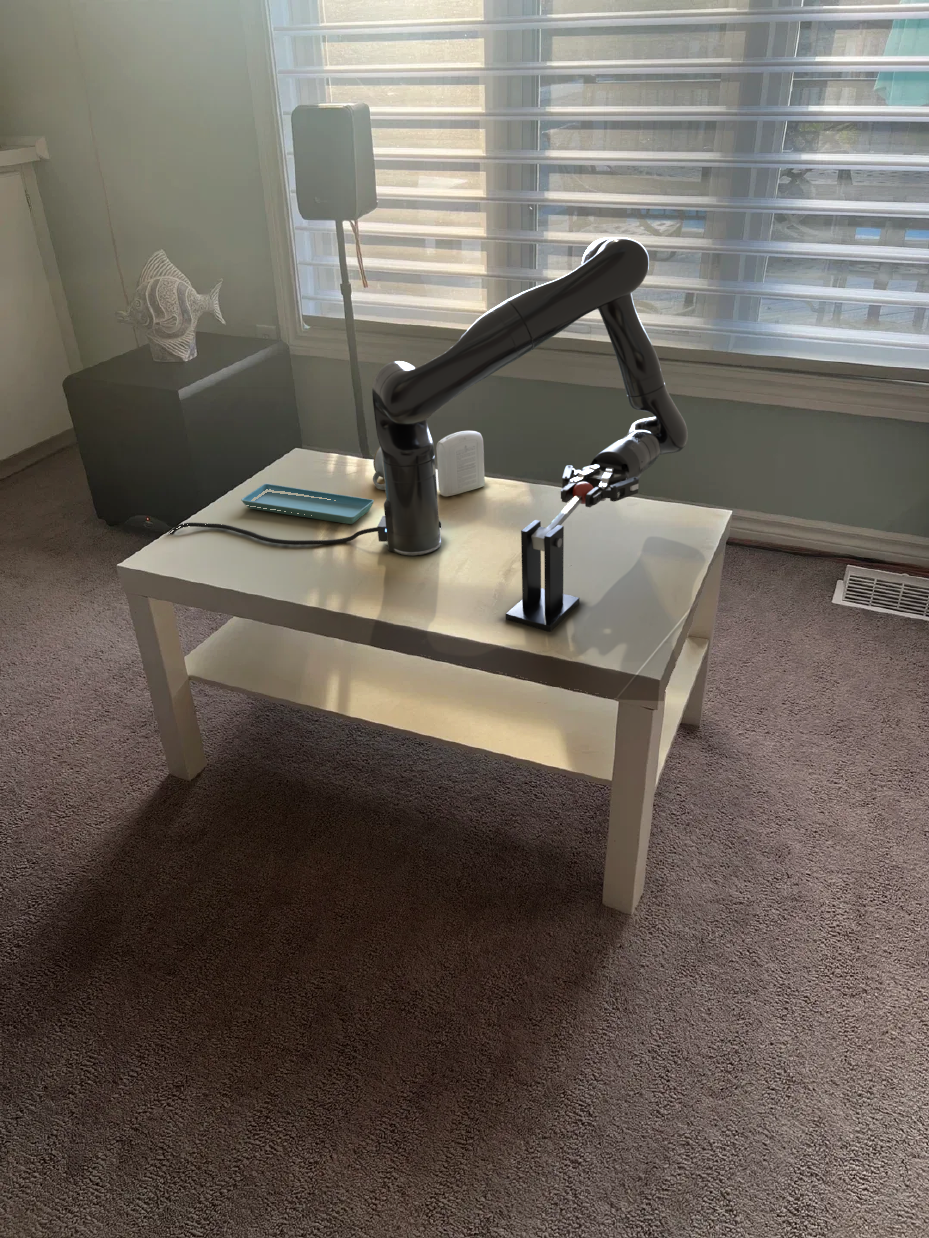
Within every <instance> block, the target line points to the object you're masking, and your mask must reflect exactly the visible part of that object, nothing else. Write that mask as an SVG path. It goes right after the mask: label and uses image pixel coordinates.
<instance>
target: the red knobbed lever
mask: <svg viewBox="0 0 929 1238" xmlns="http://www.w3.org/2000/svg"><path fill="white" fill-rule="evenodd" d="M592 489H594V488H593V486H592V485H591V484H590V483H588V482H580V483H577V484H576V485H575V487H574V488H573V492H572V495H573V498H572V499H571V500H570V501H568V502H567V504H566V505H565V506H564V507H563V509H562V510H561V511H560V512H559V513H558V514H557V515H556V516H555V517H554V519H553V520H552V521H551V522H550V523H549V524H548V525H547V526H546V527H544V526H541V527H539V528H538V529H537V530H536V531H535V533H534V534H533V535H532V536H531V537H532V546H533V549H536V550H541V552H544V536H545V535H546V534H547V533H549V532H550V531H551V530H552V529H554V528H555V527H556V526H557V525H561V526H563V523H564V522H565V521H566V520H567V519H568V518H569V517H570V516H571V514H572V513H573V512H574V511H575V510H576V509H577V508H578V507H579V506H580V505H585V497H586V494H587V493H589V492H590V491H591V490H592Z"/></svg>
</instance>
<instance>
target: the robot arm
mask: <svg viewBox="0 0 929 1238" xmlns="http://www.w3.org/2000/svg"><path fill="white" fill-rule="evenodd" d="M581 260H582V261H581V265H579V266H578V267H577V268H575V269H574V270H573V271H571V272H569V273H568V274H565V275H563V276H561V277H559V278H556V279H554V280H552V281H549V282H546V283H544V284H541V285H537V286H534V287H532V288H530V289H527V290H525V291H522V292H520V293H518V294H516V295H513V296H512V297H510V298H507V299H506V300H504V301H503V302H501V303H500V304H497V305H496V306H495V307H493V308H491V309H490V310H488V311H487V312H485V313H484V314H482V315H480V317H479V318H477V319H476V320H474V322H473V323H472V324H471V325H470V326H469V327H468V328H467V330H466V331H465V332H464V333H463V334H462V335H461V337H459V339H458V340H457V341H456V342H455V344H453V345H452V346H451V347H450V348H448V349H447V350H446V351H445V352H444V353H442V354H440V355H438V356H436V357H435V358H433V359H430V360H429V361H427V362H425V363H424V364H421V365H419V366H417V367H415V365H413V364H411V363H409V362H406V361H402V360H401V361H400V360H396V361H391V362H388V363H386V364H385V365H383V366H382V367H380V369H379V370H378V371H377V373H376V374H375V376H374V379H373V382H372V387H371V388H372V389H371V390H372V391H371V394H372V406H373V413H374V421H375V430H376V436H377V440H378V444H379V447H381V452H382V460H383V470H384V478H383V479H384V484H385V490H384V491H385V499H384V502H383V510H384V515H382V517H381V519H380V520H379V522H378V524H377V526H376V527H369V528H364V529H361V530H359V531H356V532H355V533H353V534H352V535H350V536H347V537H342V538H335V539H312V540H311V539H309V540H308V539H305V540H304V539H303V540H301V539H299V540H297V539H296V540H295V539H280V538H274V537H268V536H264V535H261V534H258V533H255V532H253V531H250V530H247V529H244V528H240V527H236V526H233V525H229V524H223V523H211V522H210V523H208V522H184V525H183V523H180V524H178V525H176V526H174V527H173V528H171V530H169V532H168V534H169V533H170V532H171V531H172V530H174V531H173V532H172V533H170V534H169V535H174V534H175V533H176V532H177V531H179V530H181V529H184V528H189V527H188V526H190V528H192V527H193V528H194V527H195V528H209V529H212V528H213V529H223V530H228V531H232V532H235V533H238V534H242V535H245V536H249V537H252V538H255V539H257V540H260V541H263V542H267V543H273V544H279V545H297V546H305V545H306V546H307V545H308V546H309V545H312V546H313V545H315V546H316V545H317V546H319V545H336V544H343V543H347V542H351V541H353V540H355V539H357V538H358V537H360V536H362V535H366V534H371V533H377V537H378V538H377V539H378V542H380V543H381V542H382V543H383V542H387V548H388V549H387V550H388V552H394V553H396V554H398V555H402V556H410V557H411V556H412V557H413V556H423V555H426V554H430V553H433V552H435V551H436V550H438V549H439V548H440V547H441V545H442V538H441V530H442V522H441V520H440V513H439V511H440V510H439V499H438V484H437V483H438V482H437V470H436V458H435V457H436V455H435V444H434V439H433V436H432V434H431V431H430V428H429V424H428V418H430V417H431V416H433V415H434V414H435V413H437V412H438V411H439V410H440V409H442V408H443V407H445V406H446V405H447V404H448V403H449V402H451V401H453V399H455V398H456V397H457V396H459V395H460V394H462V393H463V392H464V391H466V390H467V389H469V388H470V387H472V386H474V385H476V384H477V383H479V382H481V381H483V380H485V379H486V378H488V377H489V376H491V375H493V374H494V373H497V371H499V370H501V369H502V368H505V367H506V366H508V365H510V364H512V363H513V362H515V361H517V360H519V359H520V358H522V357H523V356H525V355H527V354H528V353H530V352H532V351H534V350H535V349H536V348H538V347H539V346H540V345H542V344H544V343H545V342H547V341H548V340H550V339H552V338H553V337H554V336H556V335H558V334H560V333H561V332H562V331H564V330H566V329H567V328H568V327H570V326H571V325H573V324H574V323H575V322H577V321H578V320H579V319H581V318H583V317H584V316H586V315H588V314H590V313H592V312H594V311H595V310H598V312H599V315H600V317H601V319H602V322H603V324H604V328H605V329H606V333H607V334H608V337H609V340H610V343H611V345H612V349H613V351H614V354H615V358H616V361H617V364H618V369H619V372H620V375H621V379H622V383H623V387H624V390H625V393H626V396H627V397H626V398H627V400H628V403H629V406H630V407H631V408H632V409H633V410H635V411H636V410H637V411H641V412H642V411H643V412H648V413H650V414H652V415H653V416H652V417H644V418H641V419H638V420H636V421H634V422H633V423H631V425H630V427H629V429H628V430H627V431H628V432H627V433H626V435H624V436H623V437H622V438H621V439H618V440H616V441H613V443H611V444H610V445H609V446H607V447H606V448H604V449H603V450H602V451H600V452H599V453H598V454H596V455H595V456H594V458H593V459H592V461H591V462H590V464H589V465H587V466H583V467H582V468H581V469H576V468H574V466H573V465H566V466H565V468H564V471H563V474H562V477H561V484H562V486H561V489H560V499H561V502H562V503H567V504H568V503H569V502H570V501H571V500H572V499H573V495H572V492H573V488H574V487H575V485H576V484H578V483H580V482H588V483H590V484H591V485H592V486H593V488H594V489H592V490H591V491H590V492H589V493H587V494H586V497H585V504H584V506H585V508H592V507H593V506H596V505H598V504H599V503H600V502H604V501H606V500H607V499H609V501H610V502H614V503H615V502H618V501H620V500H623V499H626V498H629V497H631V496H634V495H637V494H638V493H639V488H640V478H641V476H643V474H644V473H645V472H646V470H648V469H649V468H650V467H652V465H654V464H655V463H656V461H657V460H658V459H659V456H660V455H667V454H668V455H669V454H675V453H678V452H681V451H682V450H683V449H684V448H685V446H686V445H687V442H688V438H689V437H688V436H689V433H688V427H687V424H686V421H685V419H684V417H683V416H682V414H681V412H680V411H679V409H678V407H677V406H676V404H675V402H674V401H673V399H672V397H671V395H670V393H669V392H668V391H669V390H667V386H666V382H665V378H664V375H663V371H662V366H661V364H660V360H659V357H658V354H657V352H656V349H655V347H654V345H653V344H652V341H651V340H650V338H649V336H648V334H647V332H646V330H645V328H644V325H643V324H642V322H641V320H640V318H639V317H640V316H639V315H638V313H637V310H636V307H635V304H634V299H633V295H632V293H633V292H635V291H636V290H637V289H638V288H639V287H640V286H641V285H642V283H643V282H644V280H645V279H646V278H647V275H648V272H649V267H650V257H649V254H648V251H647V250H646V248H645V247H644V246H643V245H642V243H640V242H639V241H637V240H634V239H631V238H628V237H623V236H622V237H603V238H599V239H597V240H595V241H593V242H592V243H591V244H590V245H589V246H588V247H587V249H586V250H585V252H584V254H583V256H582V259H581ZM207 523H208V524H207ZM187 524H188V525H187ZM205 524H206V525H205ZM221 524H222V525H221ZM179 526H181V527H180V528H178V527H179ZM183 527H184V528H183ZM176 528H178V529H176Z"/></svg>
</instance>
